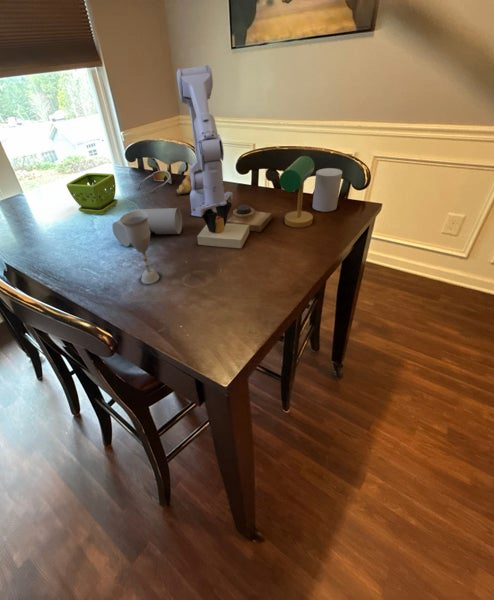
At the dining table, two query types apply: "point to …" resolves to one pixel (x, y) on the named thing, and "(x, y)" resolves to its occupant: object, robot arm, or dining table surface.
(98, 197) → the flower pot
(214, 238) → the dimmer panel
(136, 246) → the chalice
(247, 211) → the button
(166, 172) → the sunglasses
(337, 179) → the light grey upright cylinder
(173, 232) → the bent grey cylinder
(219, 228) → the dimmer knob
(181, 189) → the croissant
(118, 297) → the dining table surface
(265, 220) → the switch box
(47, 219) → the dining table surface
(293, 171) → the bracelet display stand
